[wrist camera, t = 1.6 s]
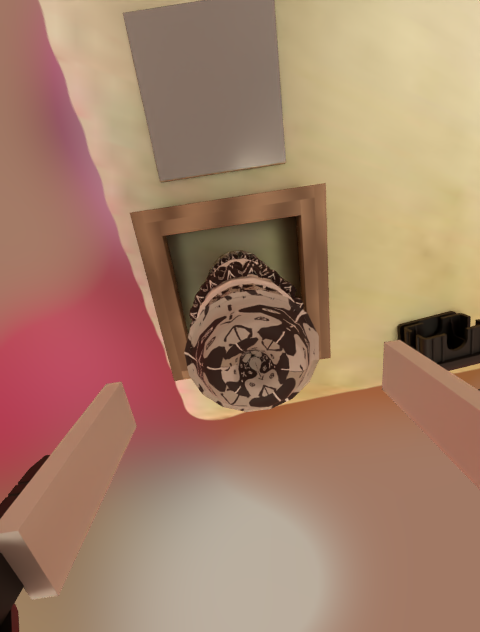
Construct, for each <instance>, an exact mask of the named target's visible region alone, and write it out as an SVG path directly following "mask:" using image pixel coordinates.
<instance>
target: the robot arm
mask: <svg viewBox="0 0 480 632" xmlns="http://www.w3.org/2000/svg"><path fill="white" fill-rule="evenodd" d="M382 390H383V391H384V392H385V393H386V394H387V395H388V396H389V397H390V398H391V399H392V400H393V401H394V402H395V403H396V404H397V405H398V406H399V407H400V408H401V409H402V410H403V411H404V412H405V413H406V414H407V415H408V416H409V417H410V418H411V419H412V421H413V422H414V423H415V424H416V425H418V427H419V428H420V429H421V430H422V431H423V432H424V433H425V434H426V435H427V436H428V437H429V438H430V439H431V440H432V441H433V442H434V443H435V444H436V445H437V446H438V447H439V448H440V449H441V450H442V451H443V452H444V454H445V455H446V456H447V457H448V458H449V459H450V460H451V461H452V462H453V463H454V464H455V465H456V466H457V467H458V468H459V469H460V470H461V471H462V472H463V473H464V474H465V475H466V476H467V477H468V478H469V479H470V480H471V481H472V482H473V483H474V484H475V485H476V486H477V487H478V489H479V490H480V389H478V390H477V389H476V388H474V387H473V386H471V385H469V384H468V383H466V382H465V381H463V380H462V379H460V378H458V377H457V376H455V375H454V374H452V373H451V372H449V371H447V370H446V369H444V368H443V367H441V366H440V365H438V364H437V363H435V362H433V361H432V360H430V359H429V358H427V357H426V356H424V355H422V354H421V353H419V352H418V351H416V350H415V349H413V348H411V347H410V346H408V345H407V344H405V343H404V342H402V341H401V340H395V341H389V342H384V358H383V381H382ZM135 429H136V423H135V420H134V417H133V414H132V411H131V408H130V405H129V402H128V399H127V397H126V393H125V391H124V388H123V385H122V382H117V383H110V384H106V385H105V386H104V388H103V389H102V390H101V391H100V393H99V394H98V395H97V396H96V398H95V399H94V400H93V402H92V403H91V404H90V405H89V407H88V408H87V409H86V410H85V412H84V413H83V414H82V416H81V417H80V418H79V420H78V421H77V422H76V423H75V424H74V426H73V427H72V428H71V430H70V431H69V432H68V433H67V435H66V436H65V437H64V438H63V440H62V441H61V442H60V444H59V445H58V446H57V447H56V449H55V450H54V451H53V453H52V454H51V455H46V456H44V457H43V458H42V459H40V460H39V461H38V462H37V463H36V464H35V465H33V466H32V467H31V468H30V469H29V470H28V471H27V472H26V474H25V475H24V476H23V477H22V479H21V480H20V481H19V482H18V485H16V486H15V487H14V488H13V490H12V491H11V492H10V493H9V494H8V497H7V498H5V499H4V500H3V501H2V503H1V504H0V632H19V617H18V610H17V607H16V605H15V604H14V603H15V601H16V599H17V597H18V596H19V594H20V592H21V590H22V589H23V588H24V589H25V590H26V592H27V593H28V595H29V596H30V598H31V599H38V598H45V597H52V596H58V595H59V593H60V591H61V589H62V587H63V585H64V583H65V580H66V578H67V576H68V574H69V572H70V569H71V567H72V565H73V563H74V561H75V559H76V556H77V554H78V552H79V550H80V548H81V546H82V544H83V541H84V539H85V537H86V535H87V533H88V531H89V528H90V526H91V524H92V522H93V520H94V517H95V515H96V513H97V511H98V509H99V507H100V504H101V502H102V500H103V498H104V496H105V494H106V492H107V489H108V487H109V485H110V483H111V481H112V479H113V476H114V474H115V472H116V470H117V468H118V465H119V463H120V461H121V459H122V457H123V455H124V452H125V450H126V448H127V446H128V444H129V442H130V440H131V437H132V435H133V433H134V431H135Z"/></svg>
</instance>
